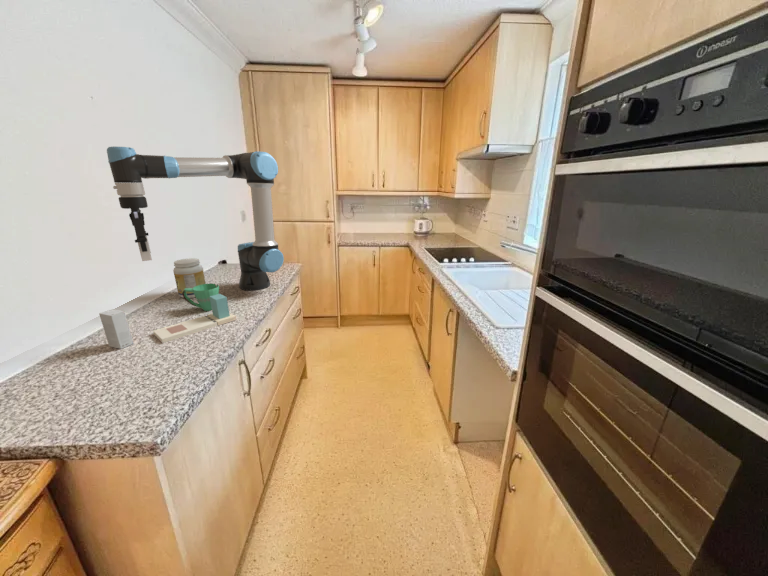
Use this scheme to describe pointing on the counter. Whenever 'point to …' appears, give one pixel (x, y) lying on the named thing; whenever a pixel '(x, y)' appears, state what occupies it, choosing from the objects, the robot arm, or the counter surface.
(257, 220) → the robot arm
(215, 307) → the stub
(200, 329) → the ticket
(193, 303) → the mug
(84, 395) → the counter surface
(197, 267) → the supplement tub
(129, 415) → the counter surface
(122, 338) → the skincare box
